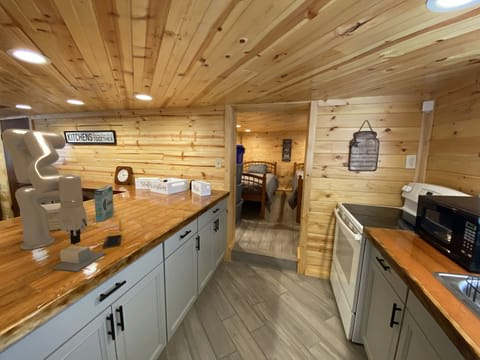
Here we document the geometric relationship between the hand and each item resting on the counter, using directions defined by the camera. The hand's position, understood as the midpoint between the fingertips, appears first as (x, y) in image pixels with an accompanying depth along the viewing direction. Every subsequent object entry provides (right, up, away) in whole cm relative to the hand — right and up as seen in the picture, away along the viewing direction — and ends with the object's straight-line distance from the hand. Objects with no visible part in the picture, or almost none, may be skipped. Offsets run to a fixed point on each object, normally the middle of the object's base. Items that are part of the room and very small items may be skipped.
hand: (75, 243), depth 88 cm
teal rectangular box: (-28, 0, +60) cm, 67 cm away
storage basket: (-48, -3, +39) cm, 62 cm away
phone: (+3, -7, +21) cm, 22 cm away
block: (-6, -5, +1) cm, 8 cm away
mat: (+2, -9, +1) cm, 9 cm away
